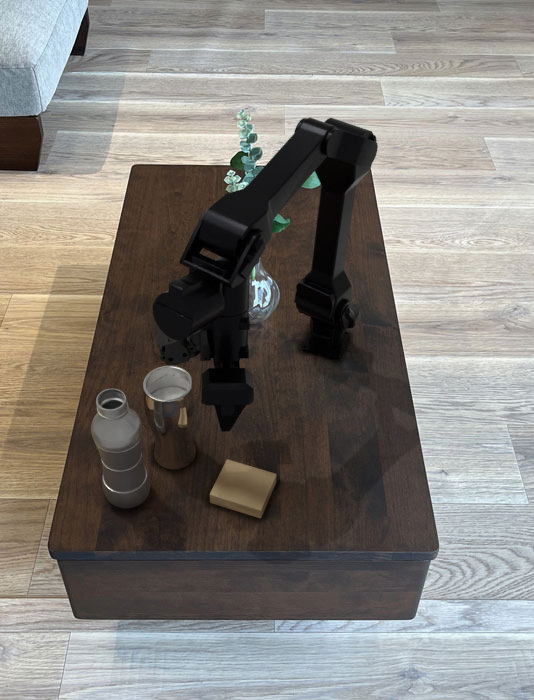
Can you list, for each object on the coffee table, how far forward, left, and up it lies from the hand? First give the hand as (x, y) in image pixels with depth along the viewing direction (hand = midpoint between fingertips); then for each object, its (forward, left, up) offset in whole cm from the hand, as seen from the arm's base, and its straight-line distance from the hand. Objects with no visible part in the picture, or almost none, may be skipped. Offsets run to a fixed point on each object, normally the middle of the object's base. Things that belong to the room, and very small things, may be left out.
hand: (224, 409), depth 106 cm
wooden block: (+3, +4, -12) cm, 13 cm away
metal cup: (0, -8, -13) cm, 15 cm away
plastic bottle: (+9, -11, -13) cm, 19 cm away
